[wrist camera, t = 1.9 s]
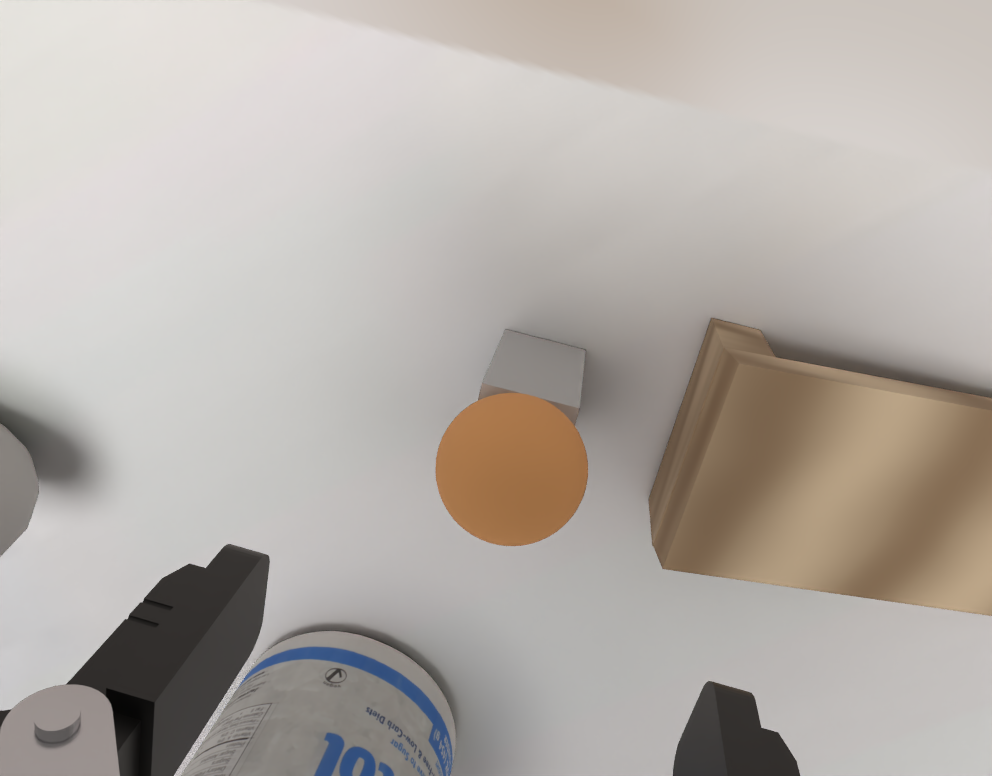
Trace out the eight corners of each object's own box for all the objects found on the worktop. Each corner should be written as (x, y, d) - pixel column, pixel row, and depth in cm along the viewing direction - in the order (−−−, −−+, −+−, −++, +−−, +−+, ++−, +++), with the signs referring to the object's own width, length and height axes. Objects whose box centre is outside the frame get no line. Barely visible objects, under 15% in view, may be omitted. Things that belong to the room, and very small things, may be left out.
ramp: (648, 499, 28) (653, 566, 24) (711, 317, 25) (729, 361, 21) (1037, 602, 27) (1107, 687, 23) (1146, 427, 24) (1245, 492, 20)
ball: (594, 495, 22) (590, 577, 19) (460, 498, 23) (431, 578, 19) (585, 367, 21) (579, 428, 17) (443, 374, 22) (408, 434, 18)
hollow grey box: (488, 402, 27) (462, 468, 22) (505, 329, 26) (481, 383, 21) (565, 422, 27) (555, 493, 22) (585, 349, 26) (579, 408, 21)
